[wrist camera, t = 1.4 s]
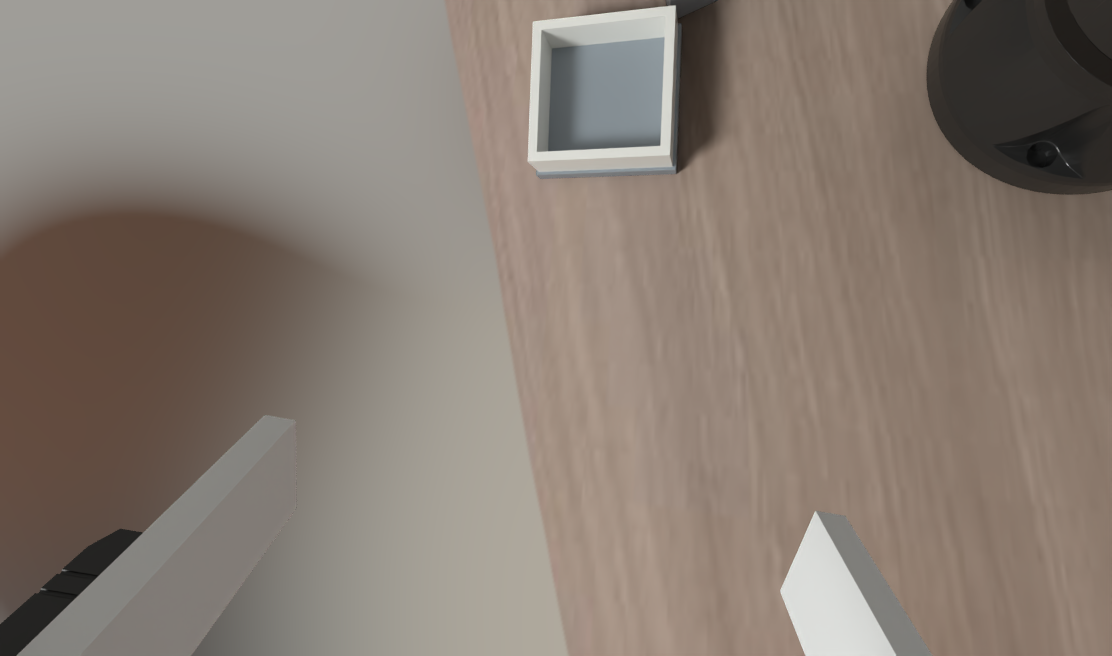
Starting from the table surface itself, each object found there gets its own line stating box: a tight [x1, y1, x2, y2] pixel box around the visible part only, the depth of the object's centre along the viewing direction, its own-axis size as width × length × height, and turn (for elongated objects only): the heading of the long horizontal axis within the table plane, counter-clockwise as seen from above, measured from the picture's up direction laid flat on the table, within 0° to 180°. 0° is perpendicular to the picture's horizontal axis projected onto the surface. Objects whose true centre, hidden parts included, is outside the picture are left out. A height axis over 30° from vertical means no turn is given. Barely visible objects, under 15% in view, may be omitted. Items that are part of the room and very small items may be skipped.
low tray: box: [528, 5, 682, 179], centre depth 37 cm, size 10×10×4 cm
